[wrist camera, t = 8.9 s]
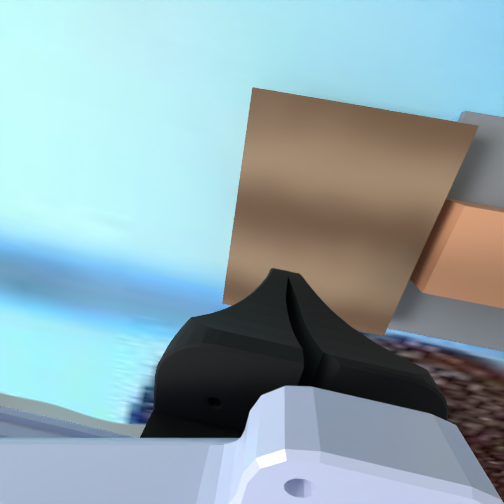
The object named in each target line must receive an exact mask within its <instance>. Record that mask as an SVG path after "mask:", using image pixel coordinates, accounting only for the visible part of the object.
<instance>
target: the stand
mask: <svg viewBox="0 0 504 504" xmlns="http://www.w3.org/2000/svg"><path fill="white" fill-rule="evenodd" d="M478 127H479V126H477V125H472V124H466V123H460V122H454V121H448V120H442V119H436V118H430V117H424V116H418V115H413V114H407V113H401V112H395V111H389V110H383V109H377V108H371V107H365V106H359V105H354V104H348V103H342V102H336V101H330V100H324V99H318V98H312V97H306V96H300V95H295V94H289V93H283V92H277V91H271V90H265V89H259V88H252V95H251V102H250V110H249V117H248V124H247V131H246V138H245V145H244V153H243V160H242V167H241V174H240V181H239V188H238V195H237V203H236V210H235V217H234V224H233V231H232V238H231V245H230V253H229V260H228V267H227V274H226V281H225V288H224V295H223V304H228V305H232V306H233V305H234V304H236V303H238V302H240V301H241V300H243V299H244V298H246V297H247V296H248V295H249V294H251V293H252V292H253V291H254V290H255V289H256V288H257V287H258V286H259V285H260V284H261V283H262V282H263V281H264V279H265V278H266V277H267V275H268V274H269V271H270V269H272V268H276V269H281V270H285V271H290V272H295V273H299V274H301V275H302V277H303V278H304V279H305V280H306V282H307V283H308V284H309V285H310V287H311V288H312V289H313V290H314V292H315V293H316V294H317V295H318V296H319V297H320V298H321V300H322V301H323V302H324V303H325V304H326V305H327V306H328V307H329V308H330V309H331V310H332V311H333V312H334V313H335V314H337V315H338V316H339V317H340V318H341V319H342V320H344V321H345V322H346V323H347V324H349V325H350V326H351V327H352V328H354V329H355V330H357V331H362V332H367V333H371V334H376V335H381V336H384V334H385V332H386V329H387V327H388V325H389V323H390V321H391V318H392V316H393V314H394V312H395V310H396V307H397V305H398V303H399V301H400V299H401V296H402V294H403V292H404V290H405V288H406V285H407V283H408V281H409V279H410V277H411V274H412V272H413V270H414V268H415V266H416V263H417V261H418V259H419V257H420V255H421V252H422V250H423V248H424V246H425V244H426V241H427V239H428V237H429V235H430V233H431V230H432V228H433V226H434V224H435V221H436V219H437V217H438V215H439V213H440V210H441V208H442V206H443V204H444V202H445V199H446V197H447V195H448V193H449V191H450V188H451V186H452V184H453V182H454V180H455V177H456V175H457V173H458V171H459V169H460V166H461V164H462V162H463V160H464V158H465V155H466V153H467V151H468V149H469V147H470V144H471V142H472V140H473V138H474V136H475V133H476V131H477V129H478Z"/></svg>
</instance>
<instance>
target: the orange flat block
mask: <svg viewBox="0 0 504 504" xmlns="http://www.w3.org/2000/svg"><path fill="white" fill-rule="evenodd" d="M410 280H411V281H412V282H413V283H414V284H415V285H416V286H417V287H418V289H419V290H420V291H421V292H422V293H426V294H431V295H436V296H441V297H447V298H452V299H457V300H462V301H467V302H473V303H478V304H483V305H488V306H493V307H499V308H504V209H503V208H497V207H492V206H486V205H481V204H475V203H469V202H464V201H458V200H453V199H447V198H446V199H445V202H444V204H443V206H442V208H441V210H440V213H439V215H438V217H437V219H436V221H435V224H434V226H433V228H432V230H431V233H430V235H429V237H428V239H427V241H426V244H425V246H424V248H423V250H422V252H421V255H420V257H419V259H418V261H417V263H416V266H415V268H414V270H413V272H412V274H411V277H410Z"/></svg>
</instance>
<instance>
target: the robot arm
mask: <svg viewBox="0 0 504 504" xmlns="http://www.w3.org/2000/svg"><path fill="white" fill-rule="evenodd" d="M448 410H449V408H448V405H447V403H446V400H445V398H444V396H443V394H442V393H441V391H440V390H439V388H438V386H437V385H436V383H435V382H434V380H433V379H432V377H431V375H430V374H429V372H428V371H427V370H426V369H424V368H422V367H420V366H418V365H416V364H414V363H412V362H410V361H408V360H406V359H404V358H402V357H400V356H398V355H396V354H394V353H392V352H390V351H388V350H387V349H385V348H383V347H381V346H380V345H378V344H376V343H375V342H373V341H371V340H370V339H368V338H367V337H365V336H364V335H362V334H361V333H360V332H358V331H357V330H355V329H354V328H352V327H351V326H350V325H349V324H347V323H346V322H345V321H344V320H342V319H341V318H340V317H339V316H338V315H337V314H335V313H334V312H333V311H332V310H331V309H330V308H329V307H328V306H327V305H326V304H325V303H324V302H323V301H322V300H321V298H320V297H319V296H318V295H317V294H316V293H315V292H314V290H313V289H312V288H311V287H310V285H309V284H308V283H307V282H306V280H305V279H304V278H303V277H302V275H301V274H299V273H295V272H290V271H285V270H281V269H276V268H272V269H270V271H269V274H268V275H267V277H266V278H265V279H264V281H263V282H262V283H261V284H260V285H259V286H258V287H257V288H256V289H255V290H254V291H253V292H252V293H251V294H249V295H248V296H247V297H246V298H244V299H243V300H241V301H240V302H238V303H236V304H234V305H233V306H231V307H228V308H226V309H223V310H220V311H217V312H214V313H211V314H206V315H202V316H197V317H191V318H190V319H189V320H188V321H187V322H186V323H185V325H184V326H183V327H182V328H181V329H180V330H179V332H178V333H177V334H176V335H175V337H174V338H173V339H172V341H171V342H170V344H169V345H168V347H167V349H166V351H165V352H164V354H163V356H162V358H161V360H160V361H159V363H158V365H157V369H156V374H155V388H154V407H153V412H152V414H151V416H150V418H149V420H148V422H147V424H146V426H145V428H144V430H143V433H142V435H141V437H140V438H134V437H130V436H126V435H122V434H118V433H113V432H109V431H105V430H101V429H96V428H92V427H88V426H84V425H80V424H76V423H71V422H67V421H63V420H59V419H54V418H50V417H46V416H42V415H38V414H34V413H29V412H24V411H21V410H16V409H12V408H8V407H4V406H0V504H504V503H503V501H502V500H501V498H500V496H499V495H498V493H497V491H496V490H495V488H494V486H493V485H492V483H491V482H490V480H489V478H488V477H487V475H486V473H485V472H484V470H483V468H482V467H481V465H480V464H479V462H478V460H477V459H476V457H475V455H474V454H473V452H472V450H471V449H470V447H469V446H468V444H467V442H466V441H465V439H464V437H463V436H462V434H461V432H460V431H459V429H458V428H457V426H456V425H454V424H452V423H450V422H448V421H447V420H448Z"/></svg>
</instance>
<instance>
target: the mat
mask: <svg viewBox="0 0 504 504" xmlns="http://www.w3.org/2000/svg"><path fill="white" fill-rule="evenodd" d="M458 122H460V123H466V124H472V125H477V126H479V127H478V129H477V131H476V133H475V136H474V138H473V140H472V142H471V144H470V147H469V149H468V151H467V153H466V155H465V158H464V160H463V162H462V164H461V166H460V169H459V171H458V173H457V175H456V177H455V180H454V182H453V184H452V186H451V188H450V191H449V193H448V195H447V197H446V198H447V199H453V200H458V201H464V202H469V203H475V204H481V205H486V206H492V207H497V208H503V209H504V117H498V116H492V115H486V114H480V113H474V112H468V111H465V112H462V113H461V116H460V118H459V121H458ZM387 328H389V329H394V330H399V331H404V332H409V333H414V334H419V335H424V336H429V337H434V338H439V339H444V340H449V341H454V342H459V343H464V344H469V345H474V346H479V347H484V348H489V349H494V350H499V351H504V308H499V307H493V306H488V305H483V304H478V303H473V302H467V301H462V300H457V299H452V298H447V297H441V296H436V295H431V294H426V293H422V292H421V291H420V290H419V289H418V287H417V286H416V285H415V284H414V283H413V282H412V281H411V280H410V279H409V281H408V283H407V285H406V288H405V290H404V292H403V294H402V296H401V299H400V301H399V303H398V305H397V307H396V310H395V312H394V314H393V316H392V318H391V321H390V323H389V325H388V327H387Z"/></svg>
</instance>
